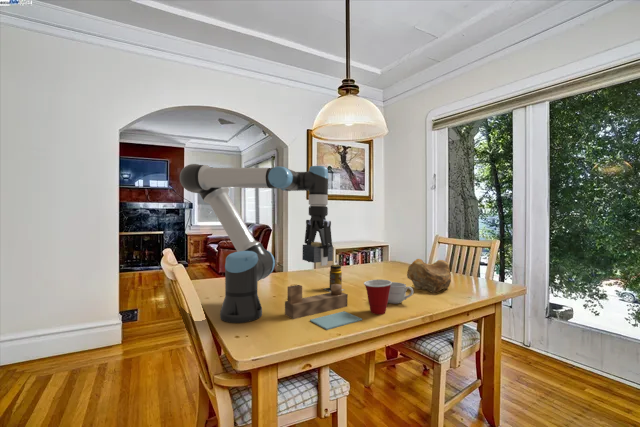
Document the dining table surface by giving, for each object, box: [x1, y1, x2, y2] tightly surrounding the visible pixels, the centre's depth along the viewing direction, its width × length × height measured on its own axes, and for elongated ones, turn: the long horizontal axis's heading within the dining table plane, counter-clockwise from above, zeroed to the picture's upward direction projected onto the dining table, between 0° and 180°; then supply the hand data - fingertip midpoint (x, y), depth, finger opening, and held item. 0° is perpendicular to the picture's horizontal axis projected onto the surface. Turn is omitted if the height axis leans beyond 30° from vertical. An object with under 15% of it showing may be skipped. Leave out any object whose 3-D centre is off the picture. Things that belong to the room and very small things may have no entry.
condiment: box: [323, 264, 345, 293], centre depth 154 cm, size 7×8×12 cm
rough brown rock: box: [406, 258, 452, 294], centre depth 155 cm, size 23×17×15 cm
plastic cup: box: [363, 279, 393, 315], centre depth 120 cm, size 11×11×12 cm
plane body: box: [284, 284, 349, 320], centre depth 122 cm, size 26×6×11 cm, turn 126°
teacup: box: [387, 281, 414, 304], centre depth 133 cm, size 14×11×8 cm
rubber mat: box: [309, 311, 363, 331], centre depth 111 cm, size 16×10×1 cm, turn 126°
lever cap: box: [302, 241, 334, 264], centre depth 122 cm, size 9×8×7 cm
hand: (317, 263), depth 122 cm, fingers closed on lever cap, 8 cm apart
